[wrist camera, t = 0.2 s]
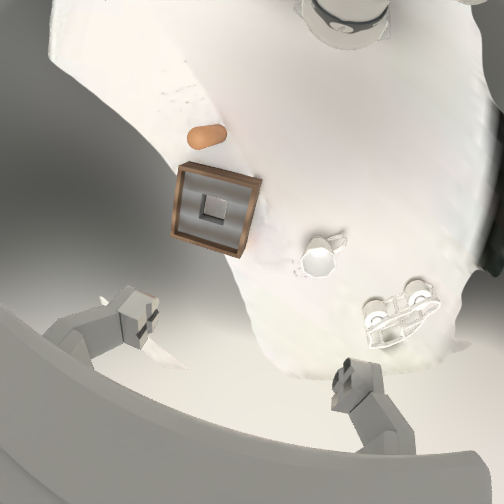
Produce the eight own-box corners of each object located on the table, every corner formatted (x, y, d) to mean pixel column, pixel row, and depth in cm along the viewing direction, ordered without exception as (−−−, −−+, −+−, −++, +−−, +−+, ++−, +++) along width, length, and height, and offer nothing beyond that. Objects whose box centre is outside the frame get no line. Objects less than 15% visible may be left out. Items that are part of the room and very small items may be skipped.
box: (189, 161, 56) (178, 165, 52) (262, 179, 55) (257, 185, 50) (179, 227, 64) (170, 236, 59) (245, 247, 63) (239, 258, 58)
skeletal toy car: (426, 269, 55) (436, 286, 49) (436, 301, 58) (445, 320, 52) (352, 304, 64) (355, 324, 57) (368, 333, 67) (371, 353, 60)
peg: (210, 122, 51) (189, 125, 43) (228, 126, 51) (211, 129, 42) (206, 141, 53) (185, 147, 45) (224, 145, 53) (206, 151, 44)
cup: (295, 240, 59) (292, 258, 52) (336, 216, 55) (338, 232, 48) (313, 264, 61) (312, 285, 54) (352, 243, 57) (357, 261, 50)
